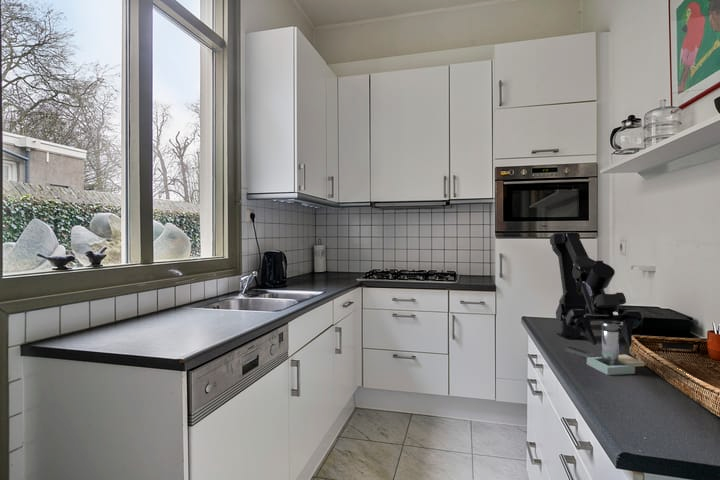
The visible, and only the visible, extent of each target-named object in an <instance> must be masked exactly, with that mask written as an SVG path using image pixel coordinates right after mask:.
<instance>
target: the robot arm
mask: <svg viewBox="0 0 720 480" xmlns="http://www.w3.org/2000/svg"><path fill="white" fill-rule="evenodd" d="M549 243H550V245H551V248H552V251H553V252H554V253H555V254H556V256H557V258H558V265H559V272H560V280H561V285H562V286H561V289H562V295H561V296H560V298H559V300H558V302H559V304H558V305H557V308H556V311H555V318H556V319H557V320H559V321H560V332H556V334H557V336H560V337H562V338H565V339H566V340H574V339H575V340H577V339H579V340H580V339H585V337H586V339H587V340H589V342H590V343H591V344H592V345H594V346H596V345H597V341H596V337H595V334H594V332H593V329H592V326H591V322H601V323H602V322H603V321H610V322H616V323H619V326H620V327H619V331H620V332H621V335H622V337H623V339H624V341H625V344H626V345H627V346H628V347H631V346H632V342H633V341H632V340H633V339H632V338H633V336H632V335H633V329H636V328H638V327H639V326H640V324H641V323H642V322H643V320H644V315H643V313H642V312H641V311H640V310H633V309H632V310H631V309H630V310H626V309H624V310H623V312H622V313H621V314H614V313H616V311H617V307H621V305H625V304H626V303H627V300H626V296H625V294H624V292H616V293H606V291H605V289H606V288H608V286H609V285H610V283H611V281H612V279H613V277H614V276H615V273H616V271H615V269H614V268H613V267H612V266H611V265H609V264H608V263H607V264H606V263H605V262H604V260H594V259H592V258H590V257H589V255H588V253H587V251H586V248H585V247H584V244H583V243H582V241H581V236H580V232H577V231H565V232H554V233H553V234H552V235H550V236H549ZM576 282H583V284H582V286H581V288H582V290H581V294H584V296H583V295H580V294H579V293H578V291H577V285H576ZM584 297H585V300H586V303H587V304H586V305H585V300H584ZM588 309H589V312H590V314H587V311H588ZM583 335H584V336H583Z"/></svg>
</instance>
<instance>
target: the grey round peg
mask: <svg viewBox="0 0 720 480" xmlns="http://www.w3.org/2000/svg"><path fill="white" fill-rule="evenodd" d="M619 346H620V323H619V322H610V321H603V322H601V357H602V363H604V364H606V365H608V366H614V365H619V355H620V354H619V353H620V347H619Z"/></svg>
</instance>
